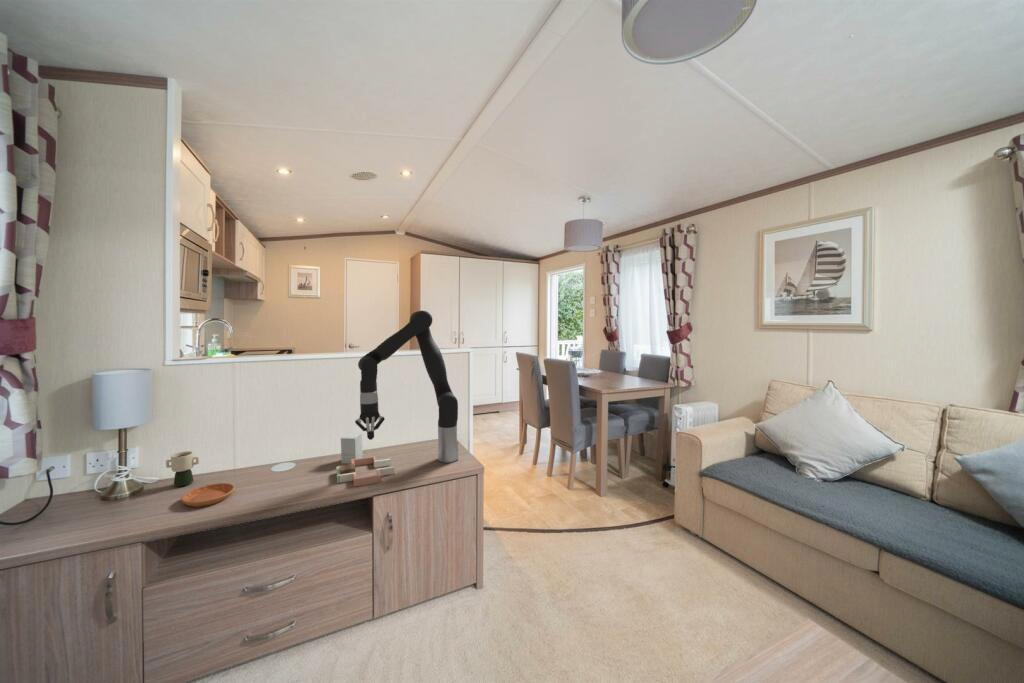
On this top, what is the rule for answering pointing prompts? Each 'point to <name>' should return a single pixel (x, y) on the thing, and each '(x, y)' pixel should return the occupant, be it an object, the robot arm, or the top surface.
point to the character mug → (182, 467)
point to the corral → (366, 479)
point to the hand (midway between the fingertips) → (370, 439)
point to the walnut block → (347, 468)
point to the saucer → (207, 494)
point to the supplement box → (351, 447)
